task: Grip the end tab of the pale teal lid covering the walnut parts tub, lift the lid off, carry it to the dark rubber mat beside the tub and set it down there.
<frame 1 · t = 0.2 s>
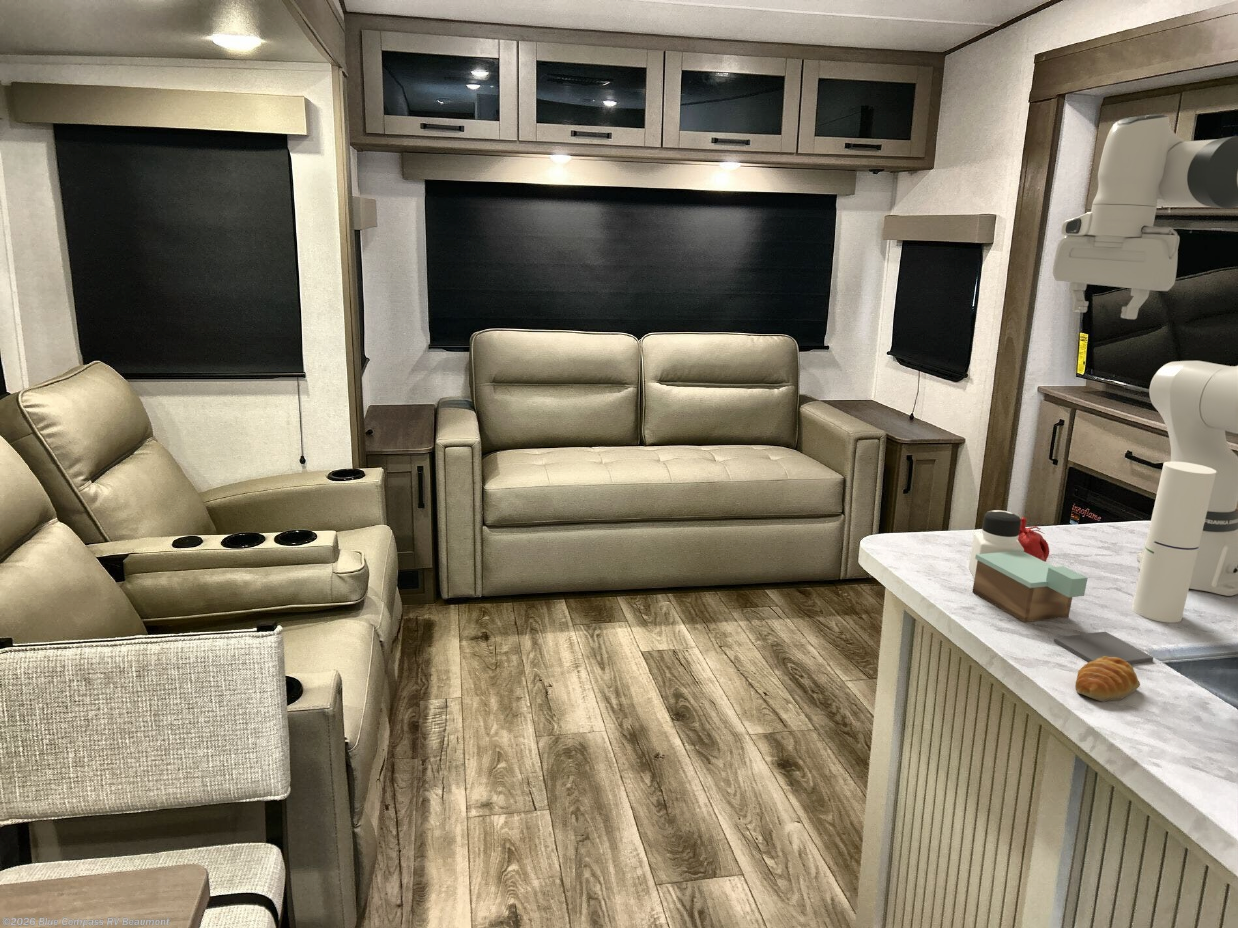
hand: (1102, 315, 142), 47 cm above the counter, tool pointing down, fingers open, 8 cm apart
mat: (1102, 650, 132), on the counter
pastry: (1104, 691, 121), on the counter
pomegranate: (1016, 566, 166), on the counter
medicine bottle: (992, 578, 159), on the counter
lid: (1025, 570, 146), point 6 cm above the counter, touching tub
tub: (1019, 604, 148), on the counter
cylindrical container: (1156, 614, 147), on the counter
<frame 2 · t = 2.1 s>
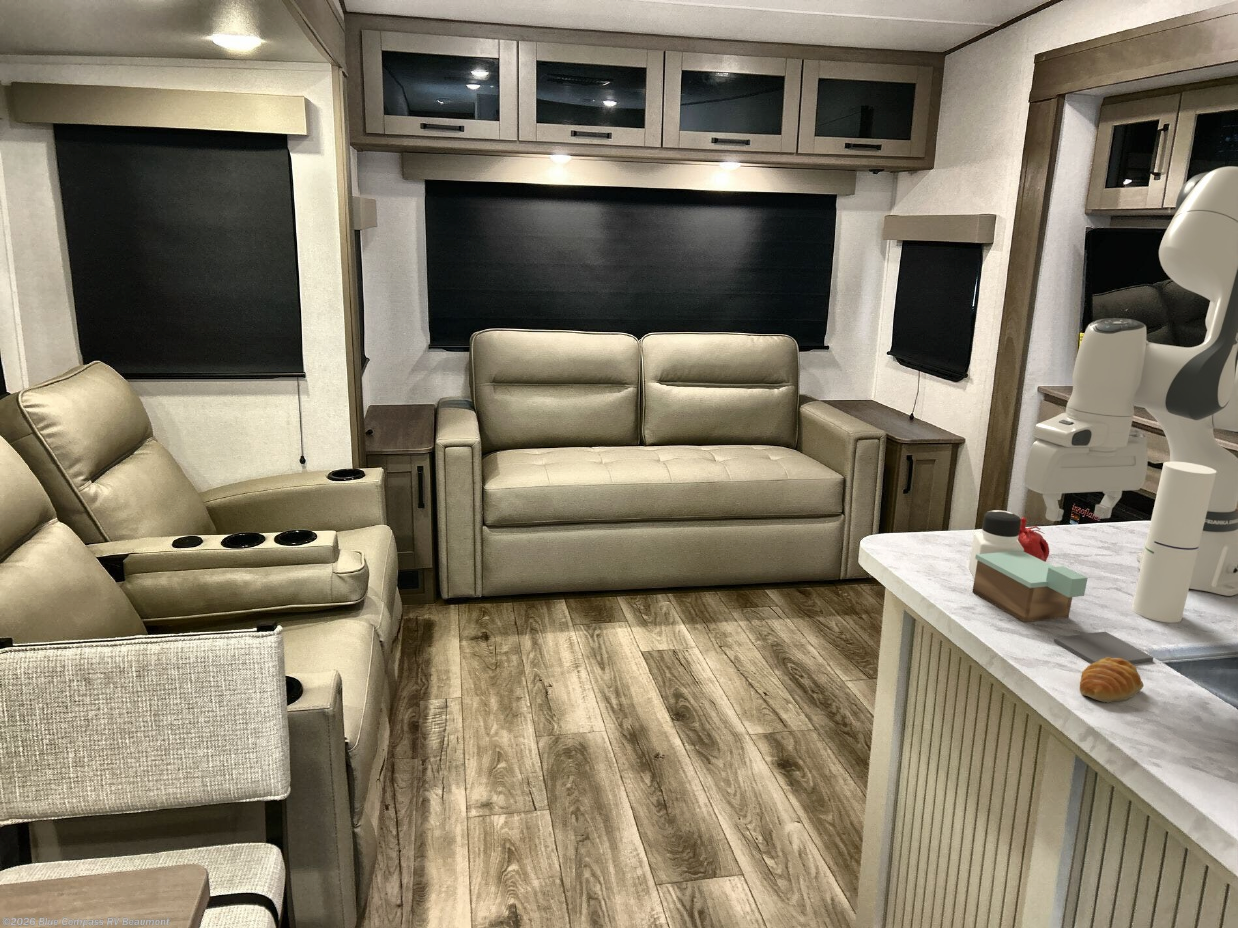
hand: (1077, 518, 135), 18 cm above the counter, tool pointing down, fingers open, 8 cm apart
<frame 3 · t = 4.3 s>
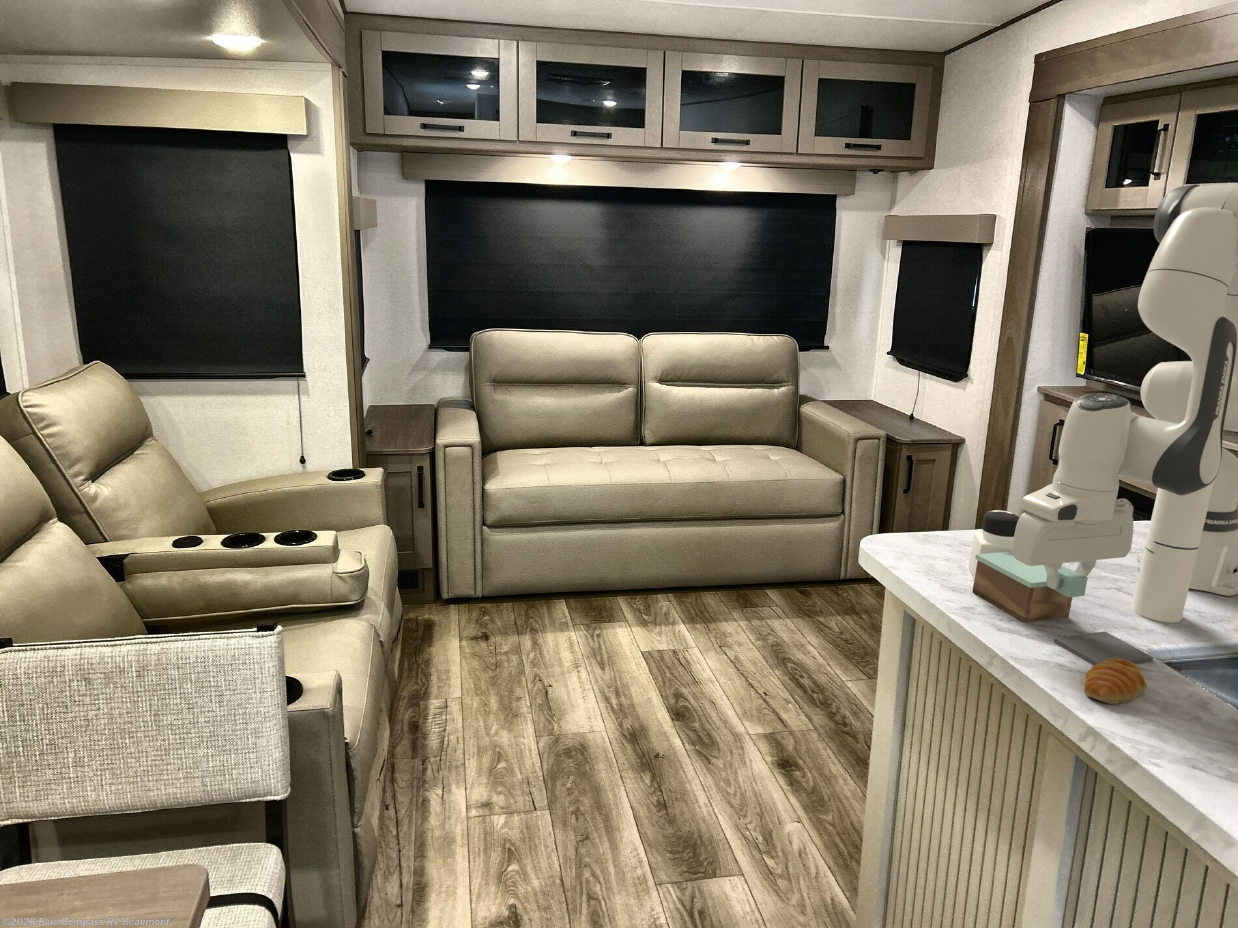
hand: (1065, 586, 138), 7 cm above the counter, tool pointing down, fingers closed on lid, 3 cm apart
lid: (1025, 570, 146), point 6 cm above the counter, touching gripper, tub
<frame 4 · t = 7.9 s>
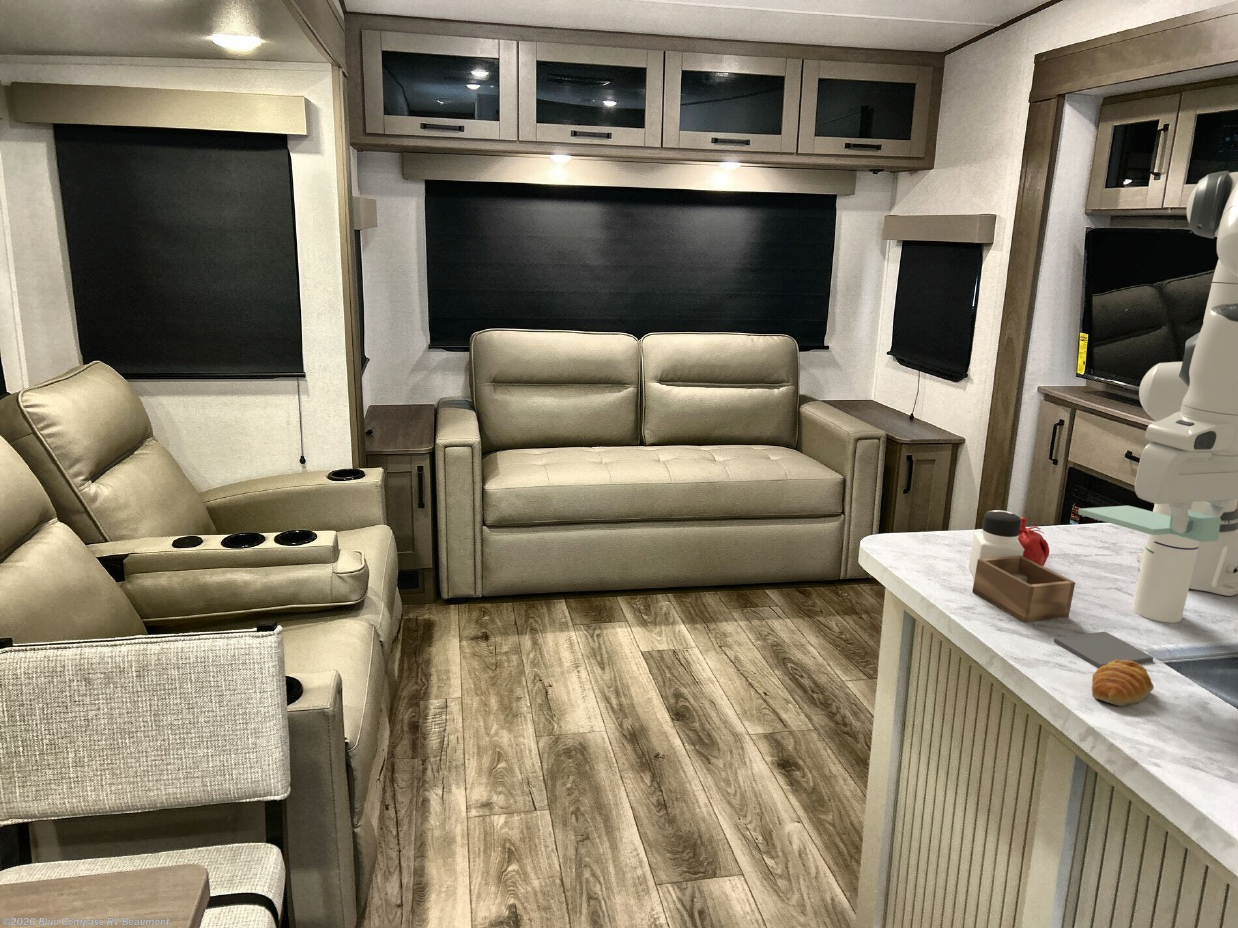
hand: (1192, 530, 120), 22 cm above the counter, tool pointing down, fingers closed on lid, 3 cm apart
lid: (1139, 522, 128), point 20 cm above the counter, tilted 5°, touching gripper
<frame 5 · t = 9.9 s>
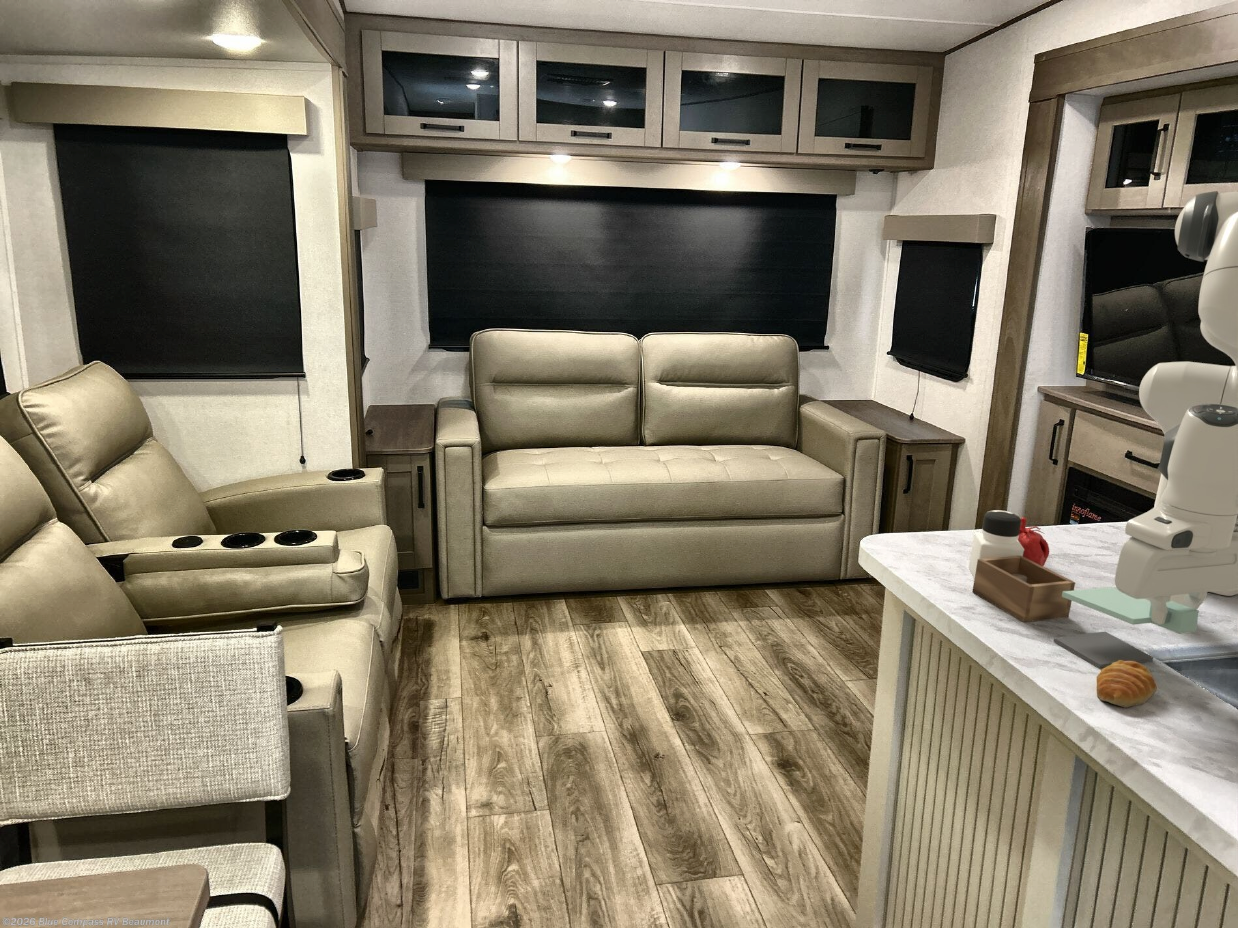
hand: (1171, 620, 123), 8 cm above the counter, tool pointing down, fingers closed on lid, 3 cm apart
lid: (1121, 607, 131), point 7 cm above the counter, tilted 6°, touching gripper
when the fingers open (4 cm above the counter, at t = 11.6 s): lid drops 2 cm, resting on mat.
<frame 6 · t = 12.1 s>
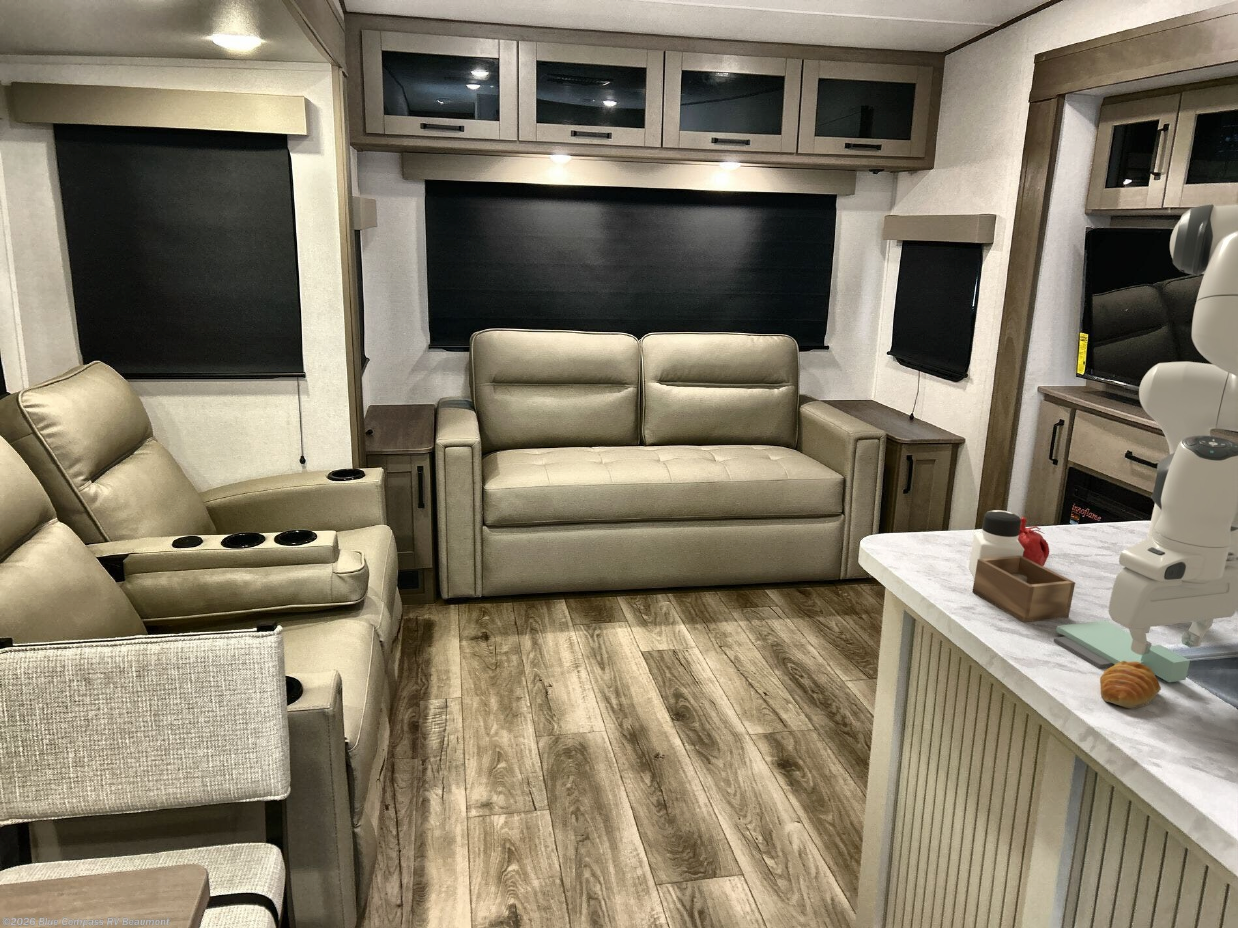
hand: (1165, 648, 124), 4 cm above the counter, tool pointing down, fingers open, 8 cm apart
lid: (1113, 646, 133), point 1 cm above the counter, touching mat
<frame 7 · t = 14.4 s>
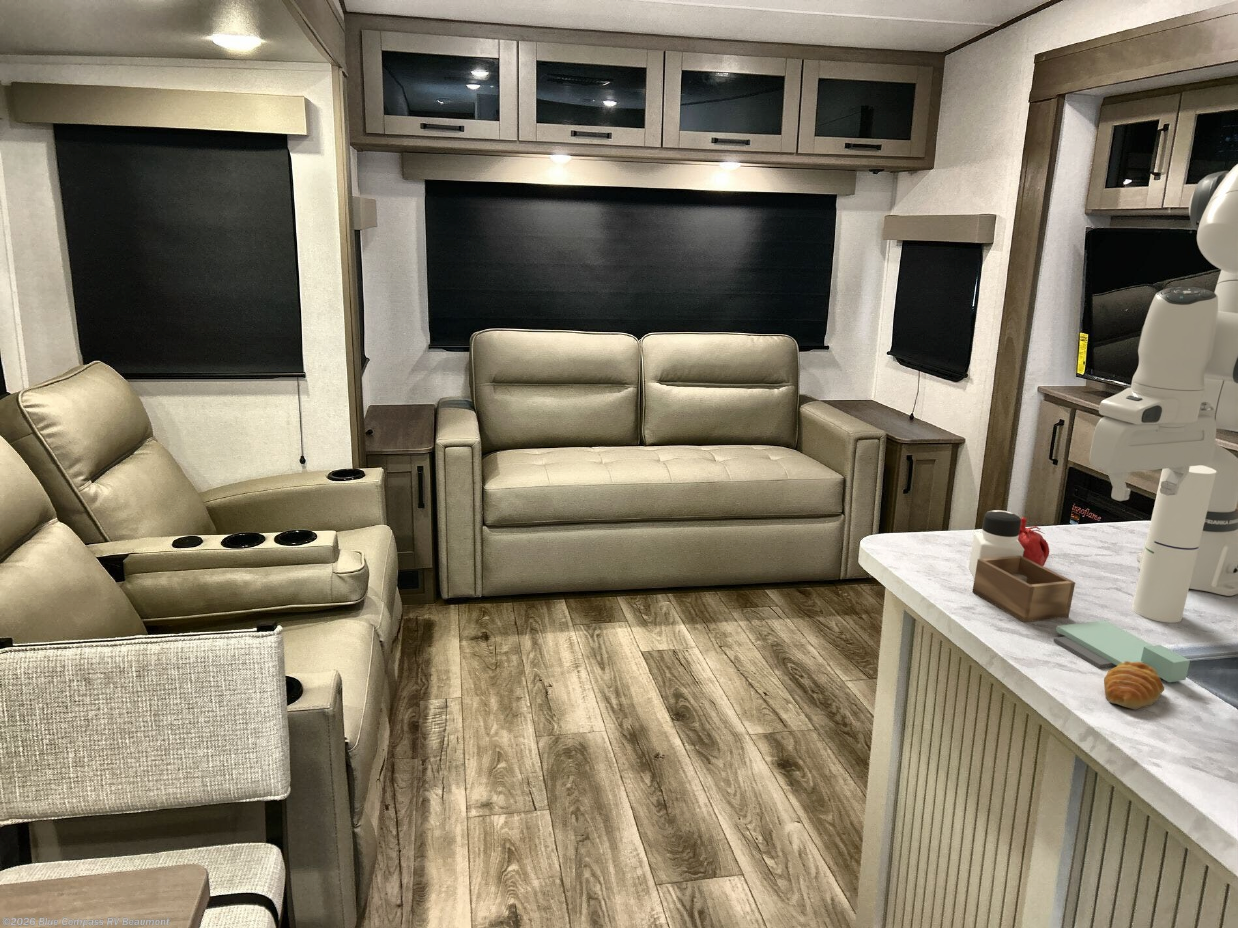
hand: (1144, 496, 130), 23 cm above the counter, tool pointing down, fingers open, 8 cm apart
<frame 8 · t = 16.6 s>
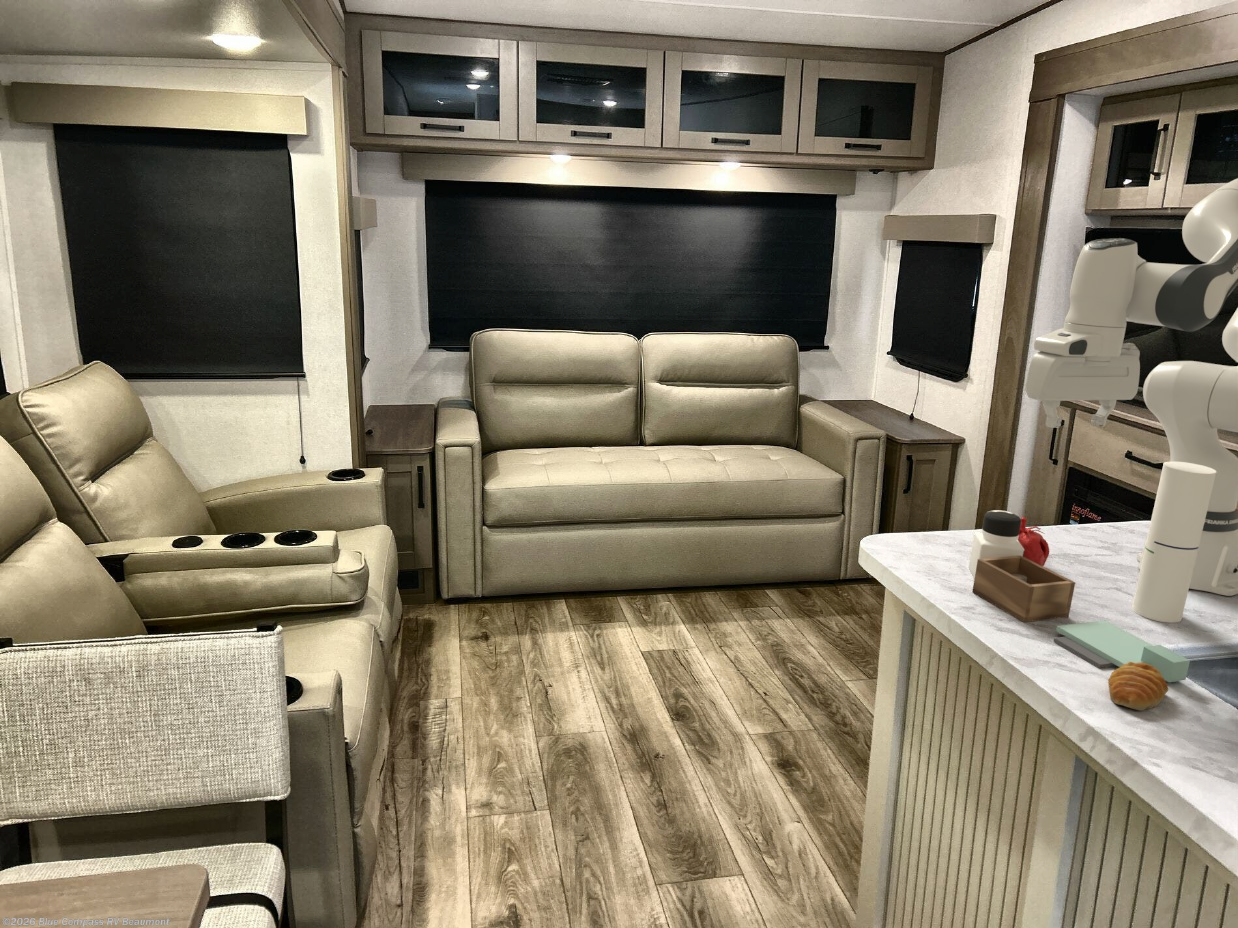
hand: (1075, 426, 146), 29 cm above the counter, tool pointing down, fingers open, 8 cm apart
at the end: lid inside the target area (1.5 cm from its centre), point 0.6 cm above the counter; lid touching mat; the gripper is holding nothing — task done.
